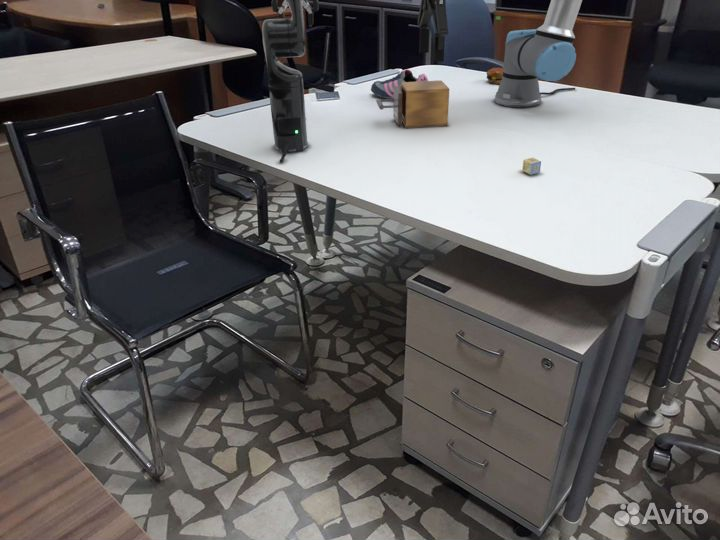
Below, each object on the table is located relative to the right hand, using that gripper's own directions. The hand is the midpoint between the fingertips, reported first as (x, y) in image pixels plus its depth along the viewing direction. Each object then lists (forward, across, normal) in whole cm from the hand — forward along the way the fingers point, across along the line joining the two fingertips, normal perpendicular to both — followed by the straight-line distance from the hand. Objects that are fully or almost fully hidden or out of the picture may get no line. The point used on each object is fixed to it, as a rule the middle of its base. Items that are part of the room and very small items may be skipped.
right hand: (430, 57), depth 164 cm
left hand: (-6, -30, -35) cm, 46 cm away
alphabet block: (+20, +44, +12) cm, 50 cm away
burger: (+20, -46, +43) cm, 66 cm away
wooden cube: (+20, -4, 0) cm, 20 cm away
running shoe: (+20, -32, 0) cm, 37 cm away
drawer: (+19, -5, -6) cm, 21 cm away
